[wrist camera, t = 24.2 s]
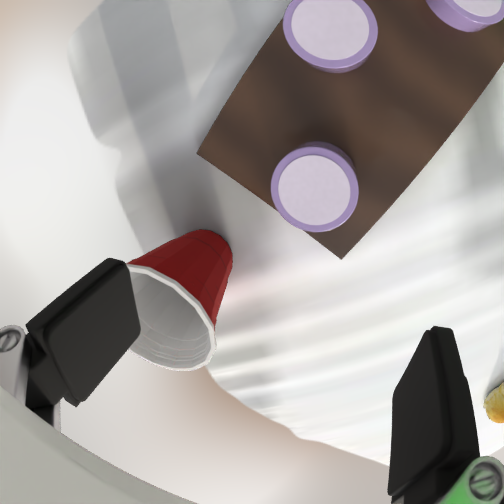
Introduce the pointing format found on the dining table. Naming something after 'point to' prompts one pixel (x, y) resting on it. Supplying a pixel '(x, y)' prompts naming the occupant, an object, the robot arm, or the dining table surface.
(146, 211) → the dining table surface
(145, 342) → the plastic cup
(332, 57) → the lavender cylinder puck
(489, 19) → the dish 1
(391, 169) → the board
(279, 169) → the lavender round puck
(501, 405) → the bread roll
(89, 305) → the robot arm
